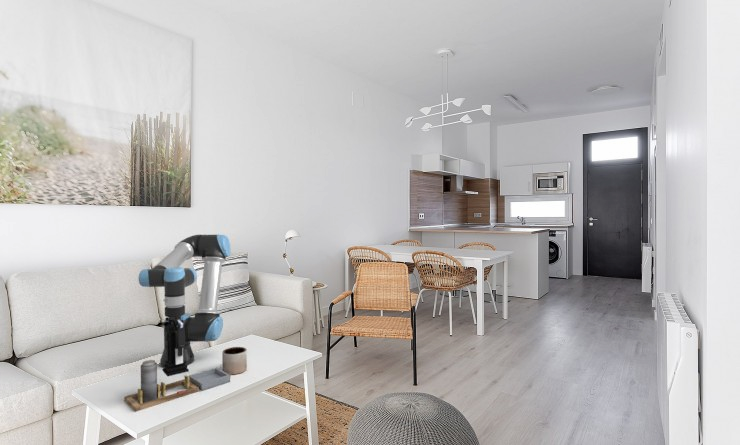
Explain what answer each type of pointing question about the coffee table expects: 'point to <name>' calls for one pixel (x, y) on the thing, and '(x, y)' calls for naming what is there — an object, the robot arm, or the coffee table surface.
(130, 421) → the coffee table surface
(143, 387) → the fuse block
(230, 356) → the planter
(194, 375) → the tray
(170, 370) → the chess piece
